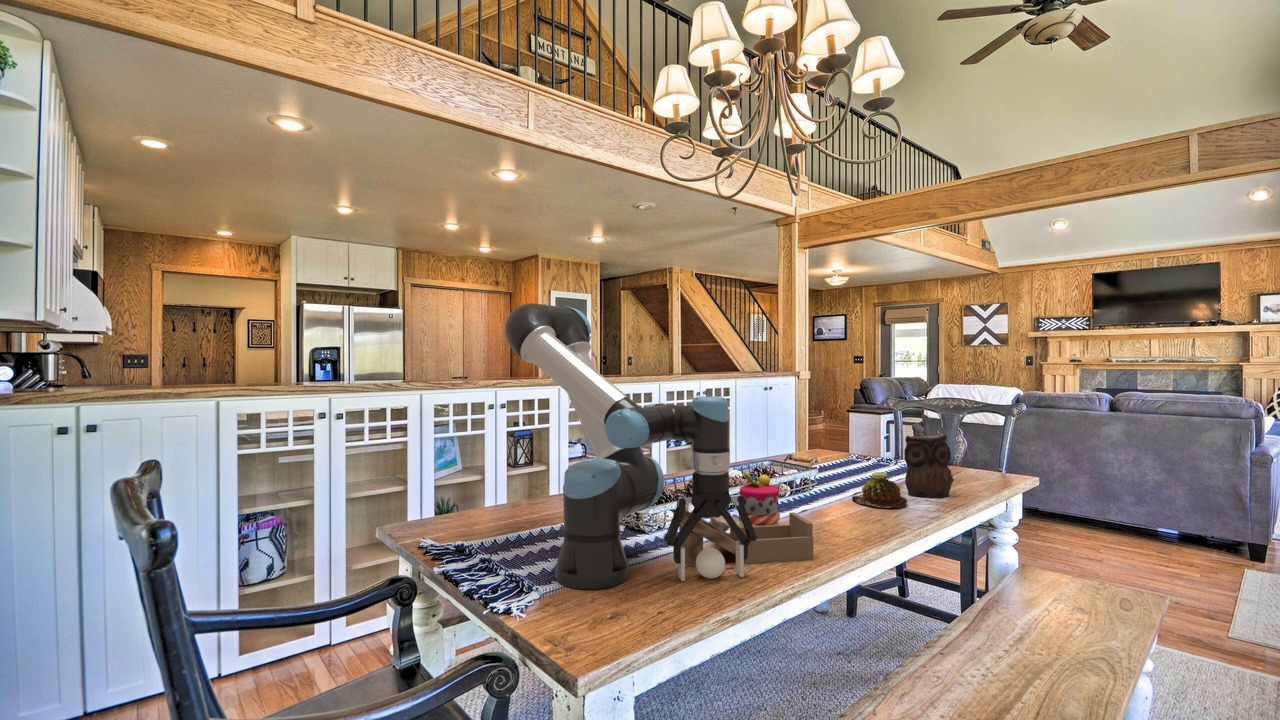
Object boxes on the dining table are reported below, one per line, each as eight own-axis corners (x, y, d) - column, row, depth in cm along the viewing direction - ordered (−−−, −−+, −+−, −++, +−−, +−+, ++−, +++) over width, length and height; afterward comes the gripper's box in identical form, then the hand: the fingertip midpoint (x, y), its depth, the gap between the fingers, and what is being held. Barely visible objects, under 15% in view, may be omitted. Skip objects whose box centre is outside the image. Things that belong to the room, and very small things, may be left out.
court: (745, 563, 132) (745, 527, 132) (729, 548, 142) (729, 515, 142) (813, 559, 134) (813, 523, 134) (793, 545, 145) (793, 512, 145)
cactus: (846, 496, 197) (846, 466, 197) (896, 497, 196) (896, 467, 196) (860, 509, 180) (860, 477, 180) (915, 510, 179) (915, 478, 179)
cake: (766, 521, 166) (766, 467, 166) (787, 532, 156) (787, 474, 156) (732, 525, 162) (732, 470, 162) (751, 536, 152) (751, 477, 152)
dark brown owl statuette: (954, 496, 196) (954, 435, 196) (934, 501, 189) (934, 438, 189) (917, 489, 206) (917, 431, 206) (897, 494, 199) (897, 434, 199)
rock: (721, 538, 139) (705, 511, 141) (716, 537, 153) (701, 512, 155) (743, 525, 140) (726, 498, 142) (735, 525, 154) (721, 500, 155)
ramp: (689, 566, 130) (689, 521, 130) (679, 552, 140) (679, 510, 140) (745, 562, 132) (745, 518, 132) (731, 549, 142) (731, 507, 142)
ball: (700, 584, 120) (700, 554, 120) (692, 573, 126) (692, 544, 126) (729, 582, 121) (728, 552, 121) (720, 571, 127) (719, 543, 127)
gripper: (657, 477, 118) (657, 587, 118) (772, 472, 122) (773, 579, 122) (650, 470, 125) (650, 573, 125) (759, 466, 129) (759, 566, 129)
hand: (710, 576), depth 123 cm, fingers open, 12 cm apart
